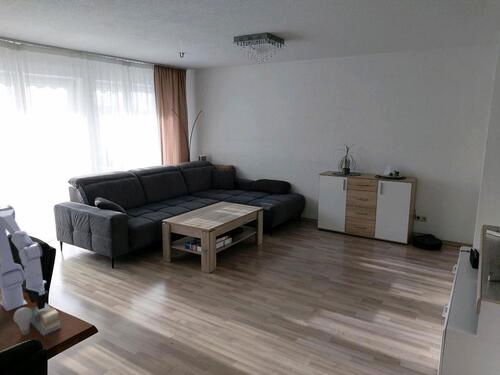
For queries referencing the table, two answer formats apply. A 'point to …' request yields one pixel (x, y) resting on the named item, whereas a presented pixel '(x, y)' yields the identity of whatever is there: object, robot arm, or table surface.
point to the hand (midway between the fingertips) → (37, 305)
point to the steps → (37, 323)
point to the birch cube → (49, 318)
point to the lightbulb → (23, 319)
